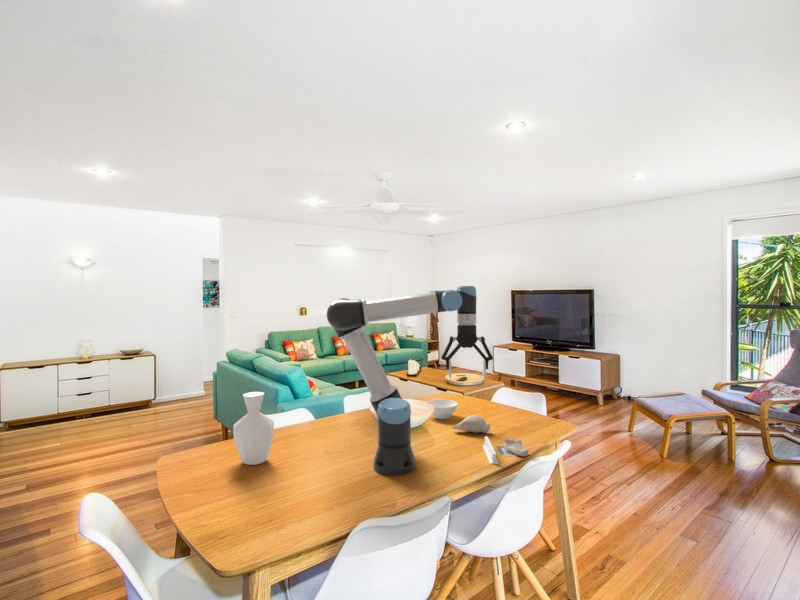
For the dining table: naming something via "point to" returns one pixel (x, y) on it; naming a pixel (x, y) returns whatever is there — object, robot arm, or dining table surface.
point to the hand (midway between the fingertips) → (467, 377)
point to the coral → (516, 447)
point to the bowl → (443, 408)
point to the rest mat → (505, 451)
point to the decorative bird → (473, 424)
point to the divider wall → (490, 451)
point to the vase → (253, 431)
